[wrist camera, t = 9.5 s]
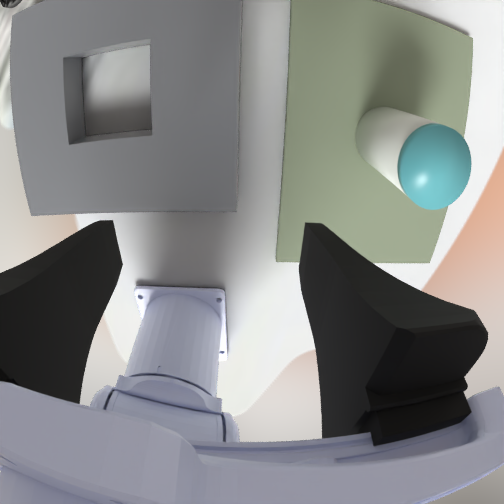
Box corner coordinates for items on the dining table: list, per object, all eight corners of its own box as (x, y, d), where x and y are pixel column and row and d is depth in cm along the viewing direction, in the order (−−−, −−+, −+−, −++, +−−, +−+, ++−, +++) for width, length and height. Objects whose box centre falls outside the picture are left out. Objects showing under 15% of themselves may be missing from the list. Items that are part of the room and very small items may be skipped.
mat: (426, 259, 24) (429, 263, 24) (275, 257, 24) (276, 261, 23) (468, 38, 14) (472, 38, 13) (290, -12, 13) (292, -15, 13)
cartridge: (421, 131, 18) (482, 160, 12) (389, 178, 20) (439, 223, 14) (376, 93, 16) (434, 107, 11) (343, 146, 19) (386, 181, 13)
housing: (237, 197, 21) (236, 212, 19) (47, 202, 21) (31, 215, 19) (243, -27, 13) (242, -40, 10) (31, 17, 12) (12, 15, 10)
